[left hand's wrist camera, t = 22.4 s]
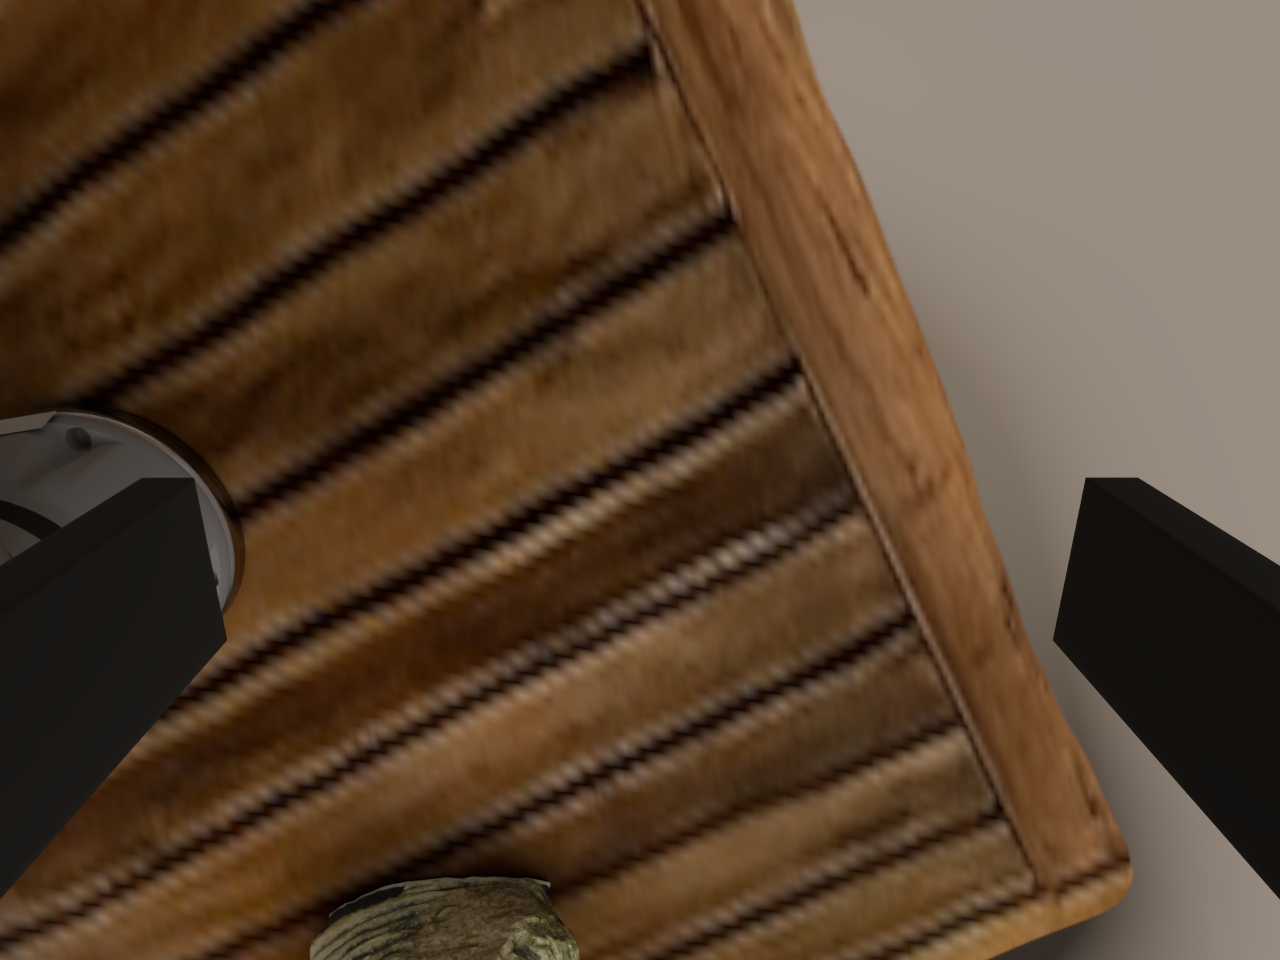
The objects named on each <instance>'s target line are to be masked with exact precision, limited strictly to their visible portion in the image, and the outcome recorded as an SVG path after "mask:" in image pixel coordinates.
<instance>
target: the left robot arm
mask: <svg viewBox="0 0 1280 960" xmlns="http://www.w3.org/2000/svg"><path fill="white" fill-rule="evenodd" d="M244 563H245V548H244V539H243V534H242V529H241V525H240V522H239V519H238V516H237V513H236V511H235V508H234V506H233V504H232V502H231V500H230V498H229V496H228V494H227V492H226V491H225V489H224V487H223V486H222V485H221V483H220V482H219V480H218V479H217V477H216V476H215V475H214V474H213V472H212V471H211V470H210V469H209V467H208V466H207V465H206V464H205V463H204V462H203V461H202V460H201V459H200V458H199V457H198V456H197V455H196V454H195V453H194V452H193V451H192V450H190V449H189V448H188V447H187V446H186V445H184V444H183V443H182V442H180V441H179V440H178V439H176V438H175V437H174V436H172V435H170V434H169V433H167V432H166V431H164V430H163V429H161V428H159V427H157V426H155V425H153V424H151V423H149V422H147V421H145V420H142V419H140V418H138V417H135V416H133V415H130V414H127V413H124V412H120V411H116V410H112V409H108V408H103V407H96V406H86V405H64V406H56V407H50V408H45V409H41V410H37V411H35V412H32V413H29V414H26V415H24V416H21V417H17V418H11V419H4V420H0V899H1V898H2V897H3V896H4V894H5V893H6V892H7V891H8V890H9V889H10V888H11V886H12V885H13V884H14V883H15V882H16V881H17V880H18V878H19V877H20V876H21V875H22V874H23V873H24V872H25V870H26V869H27V868H28V867H29V866H30V865H31V864H32V862H33V861H34V860H35V859H36V858H37V857H38V856H39V854H40V853H41V852H42V851H43V850H44V849H45V848H46V846H47V845H48V844H49V843H50V842H51V841H52V840H53V838H54V837H55V836H56V835H57V834H58V833H59V832H60V830H61V829H62V828H63V827H64V826H65V825H66V824H67V822H68V821H69V820H70V819H71V818H72V817H73V816H74V814H75V813H76V812H77V811H78V810H79V809H80V808H81V806H82V805H83V804H84V803H85V802H86V801H87V800H88V798H89V797H90V796H91V795H92V794H93V793H94V792H95V790H96V789H97V788H98V787H99V786H100V785H101V784H102V782H103V781H104V780H105V779H106V778H107V777H108V776H109V774H110V773H111V772H112V771H113V770H114V769H115V768H116V766H117V765H118V764H119V763H120V762H121V761H122V760H123V758H124V757H125V756H126V755H127V754H128V753H129V752H130V751H131V749H132V748H133V747H134V746H135V745H136V744H137V743H138V741H139V740H140V739H141V738H142V737H143V736H144V735H145V733H146V732H147V731H148V730H149V729H150V728H151V727H152V725H153V724H154V723H155V722H156V721H157V720H158V719H159V717H160V716H161V715H162V714H163V713H164V712H165V711H166V709H167V708H168V707H169V706H170V705H171V704H172V703H173V701H174V700H175V699H176V698H177V697H178V696H179V695H180V693H181V692H182V691H183V690H184V689H185V688H186V687H187V685H188V684H189V683H190V682H191V681H192V680H193V679H194V677H195V676H196V675H197V674H198V673H199V672H200V671H201V669H202V668H203V667H204V666H205V665H206V664H207V663H208V661H209V660H210V659H211V658H212V657H213V656H214V655H215V653H216V652H217V651H218V650H219V649H220V648H221V647H222V645H223V644H224V643H225V642H226V641H227V637H226V632H225V627H224V622H223V616H224V614H225V613H226V612H227V610H228V609H229V608H230V606H231V605H232V603H233V601H234V599H235V597H236V595H237V593H238V590H239V587H240V585H241V581H242V577H243V572H244ZM1053 641H1054V642H1055V643H1056V644H1057V645H1058V647H1059V648H1060V649H1061V650H1062V651H1063V652H1064V653H1065V655H1066V656H1067V657H1068V658H1069V659H1070V660H1071V661H1072V662H1073V664H1074V665H1075V666H1076V667H1077V668H1078V669H1079V671H1080V672H1081V673H1082V674H1083V675H1084V676H1085V677H1086V678H1087V680H1088V681H1089V682H1090V683H1091V684H1092V685H1093V687H1094V688H1095V689H1096V690H1097V691H1098V692H1099V693H1100V695H1101V696H1102V697H1103V698H1104V699H1105V700H1106V701H1107V702H1108V704H1109V705H1110V706H1111V707H1112V708H1113V709H1114V711H1115V712H1116V713H1117V714H1118V715H1119V716H1120V717H1121V719H1122V720H1123V721H1124V722H1125V723H1126V724H1127V725H1128V726H1129V728H1130V729H1131V730H1132V731H1133V732H1134V733H1135V734H1136V736H1137V737H1138V738H1139V739H1140V740H1141V741H1142V743H1143V744H1144V745H1145V746H1146V747H1147V748H1148V749H1149V750H1150V752H1151V753H1152V754H1153V755H1154V756H1155V757H1156V758H1157V760H1158V761H1159V762H1160V763H1161V764H1162V765H1163V766H1164V768H1165V769H1166V770H1167V771H1168V772H1169V773H1170V774H1171V776H1172V777H1173V778H1174V779H1175V780H1176V781H1177V782H1178V784H1179V785H1180V786H1181V787H1182V788H1183V789H1184V790H1185V792H1186V793H1187V794H1188V795H1189V796H1190V797H1191V798H1192V800H1193V801H1194V802H1195V803H1196V804H1197V805H1198V806H1199V808H1200V809H1201V810H1202V811H1203V812H1204V813H1205V814H1206V816H1207V817H1208V818H1209V819H1210V820H1211V821H1212V822H1213V824H1214V825H1215V826H1216V827H1217V828H1218V829H1219V830H1220V832H1221V833H1222V834H1223V835H1224V836H1225V837H1226V838H1227V840H1228V841H1229V842H1230V843H1231V844H1232V845H1233V846H1234V848H1235V849H1236V850H1237V851H1238V852H1239V853H1240V854H1241V856H1242V857H1243V858H1244V859H1245V860H1246V861H1247V862H1248V863H1249V865H1250V866H1251V867H1252V868H1253V869H1254V870H1255V872H1256V873H1257V874H1258V875H1259V876H1260V877H1261V878H1262V880H1263V881H1264V882H1265V883H1266V884H1267V885H1268V886H1269V888H1270V889H1271V890H1272V891H1273V892H1274V893H1275V894H1276V896H1277V897H1278V898H1279V899H1280V566H1279V565H1278V564H1276V563H1274V562H1273V561H1271V560H1270V559H1268V558H1266V557H1265V556H1263V555H1262V554H1260V553H1258V552H1257V551H1255V550H1254V549H1252V548H1250V547H1249V546H1247V545H1245V544H1244V543H1242V542H1241V541H1239V540H1237V539H1236V538H1234V537H1233V536H1231V535H1229V534H1228V533H1226V532H1225V531H1223V530H1221V529H1220V528H1218V527H1216V526H1215V525H1213V524H1212V523H1210V522H1208V521H1207V520H1205V519H1204V518H1202V517H1200V516H1199V515H1197V514H1196V513H1194V512H1192V511H1191V510H1189V509H1188V508H1186V507H1184V506H1183V505H1181V504H1179V503H1178V502H1176V501H1175V500H1173V499H1171V498H1170V497H1168V496H1167V495H1165V494H1163V493H1162V492H1160V491H1159V490H1157V489H1155V488H1154V487H1152V486H1150V485H1149V484H1147V483H1146V482H1144V481H1142V480H1141V479H1139V478H1086V479H1085V484H1084V489H1083V494H1082V499H1081V504H1080V509H1079V514H1078V519H1077V523H1076V529H1075V533H1074V538H1073V543H1072V548H1071V553H1070V558H1069V563H1068V568H1067V573H1066V578H1065V583H1064V588H1063V593H1062V598H1061V603H1060V608H1059V613H1058V617H1057V622H1056V627H1055V632H1054V637H1053Z"/></svg>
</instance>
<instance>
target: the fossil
mask: <svg viewBox="0 0 1280 960" xmlns="http://www.w3.org/2000/svg"><path fill="white" fill-rule="evenodd" d="M549 891H550V883H549V882H545V881H541V880H536V879H531V878H505V877H468V878H465V879H459V878H437V879H428V880H418V881H409V882H403V883H398V884H392V885H389V886H385V887H381V888H379V889H377V890H375V891H372V892H370V893H367V894H365V895H362V896H360V897H359V898H358V899H356V900H355V901H352V902H348V903H345V904H344V905H342V906H340V907H339V908H338V909H336V910H335V911H333V912H332V913H331V914H330V915H329V919H328V921H327V923H326V925H325V926H324V928H323V929H322V930H321V932H320V933H319V934H318V935H317V936H316V937H315V938H314V939H313V940H312V942H311V946H310V951H309V953H310V959H311V960H580V958H579V944H578V942H577V940H576V938H575V936H574V934H573V932H572V931H571V930H569V929H568V928H567V927H566V926H565V924H564V923H563V922H562V921H561V920H560V919H559V917H558V915H557V913H556V912H554V911H553V910H552V906H553V905H552V902H551V898H550V895H549Z"/></svg>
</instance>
